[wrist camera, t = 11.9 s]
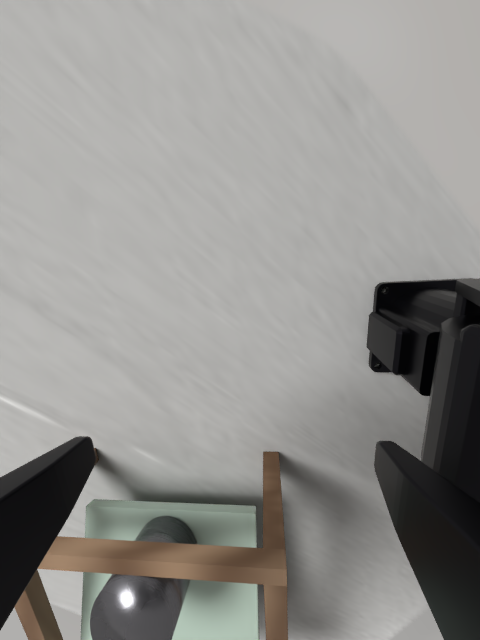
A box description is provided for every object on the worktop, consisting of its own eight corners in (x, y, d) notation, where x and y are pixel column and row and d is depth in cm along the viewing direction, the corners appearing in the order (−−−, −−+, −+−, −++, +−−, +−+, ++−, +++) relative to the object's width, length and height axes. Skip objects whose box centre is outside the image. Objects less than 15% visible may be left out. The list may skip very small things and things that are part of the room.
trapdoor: (255, 506, 21) (255, 513, 20) (260, 705, 20) (260, 724, 19) (94, 499, 23) (86, 506, 22) (87, 684, 21) (78, 701, 20)
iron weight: (197, 517, 20) (172, 581, 15) (198, 586, 20) (172, 677, 15) (136, 514, 21) (90, 576, 15) (136, 581, 21) (88, 668, 15)
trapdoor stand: (278, 452, 22) (286, 569, 14) (281, 595, 27) (289, 744, 19) (82, 448, 24) (-10, 550, 16) (117, 583, 29) (60, 714, 21)
